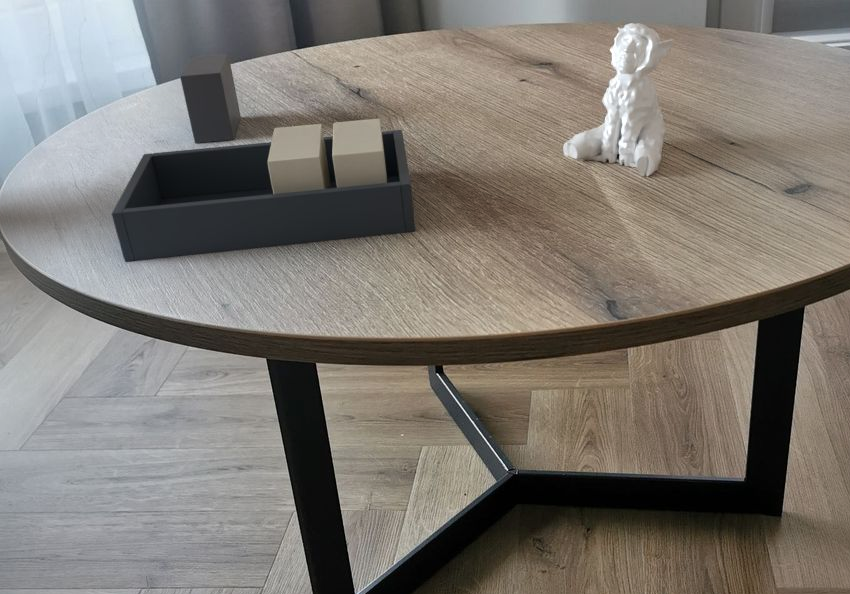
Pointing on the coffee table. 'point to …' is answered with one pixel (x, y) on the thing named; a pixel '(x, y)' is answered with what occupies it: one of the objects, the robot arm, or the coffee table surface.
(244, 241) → the tray
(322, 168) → the cream box
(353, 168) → the cream box
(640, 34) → the seated beast figurine
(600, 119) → the coffee table surface
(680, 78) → the coffee table surface
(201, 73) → the grey box
